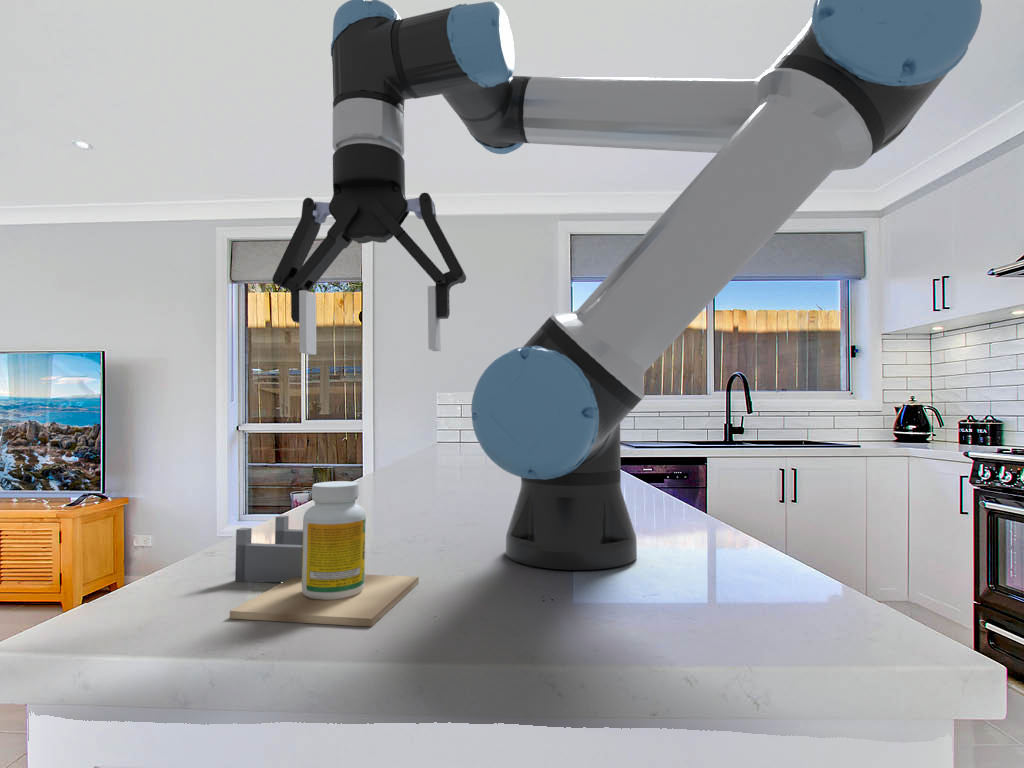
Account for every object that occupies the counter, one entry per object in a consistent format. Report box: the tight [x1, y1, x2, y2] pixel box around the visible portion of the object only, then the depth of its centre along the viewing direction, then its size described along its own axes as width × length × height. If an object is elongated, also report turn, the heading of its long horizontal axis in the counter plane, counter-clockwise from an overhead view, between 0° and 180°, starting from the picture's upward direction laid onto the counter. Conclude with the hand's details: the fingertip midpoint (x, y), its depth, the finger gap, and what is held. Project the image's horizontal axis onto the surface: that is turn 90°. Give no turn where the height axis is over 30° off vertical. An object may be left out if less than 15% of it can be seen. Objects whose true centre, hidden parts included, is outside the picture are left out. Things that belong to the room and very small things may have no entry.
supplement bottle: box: [302, 480, 367, 600], centre depth 54 cm, size 5×5×10 cm
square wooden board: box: [229, 574, 420, 628], centre depth 54 cm, size 12×12×1 cm
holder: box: [234, 514, 303, 583], centre depth 63 cm, size 8×8×5 cm
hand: (370, 352), depth 64 cm, fingers open, 13 cm apart
